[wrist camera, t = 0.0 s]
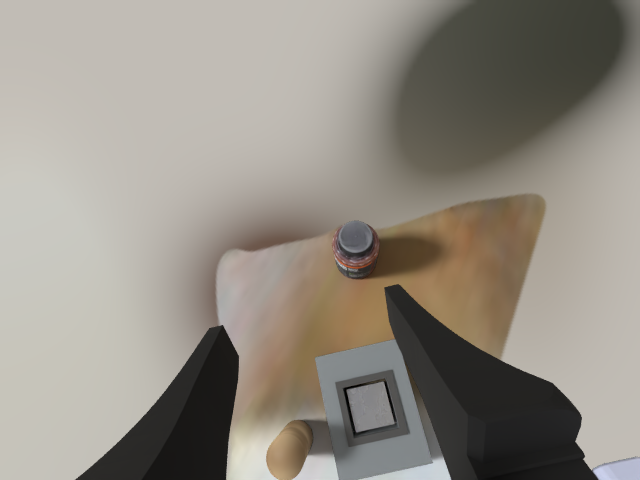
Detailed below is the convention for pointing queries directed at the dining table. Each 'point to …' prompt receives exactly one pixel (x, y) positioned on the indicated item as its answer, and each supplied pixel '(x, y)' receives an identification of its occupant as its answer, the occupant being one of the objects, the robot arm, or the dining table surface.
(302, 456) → the peg
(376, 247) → the supplement bottle
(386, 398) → the pad
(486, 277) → the dining table surface
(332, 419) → the board
